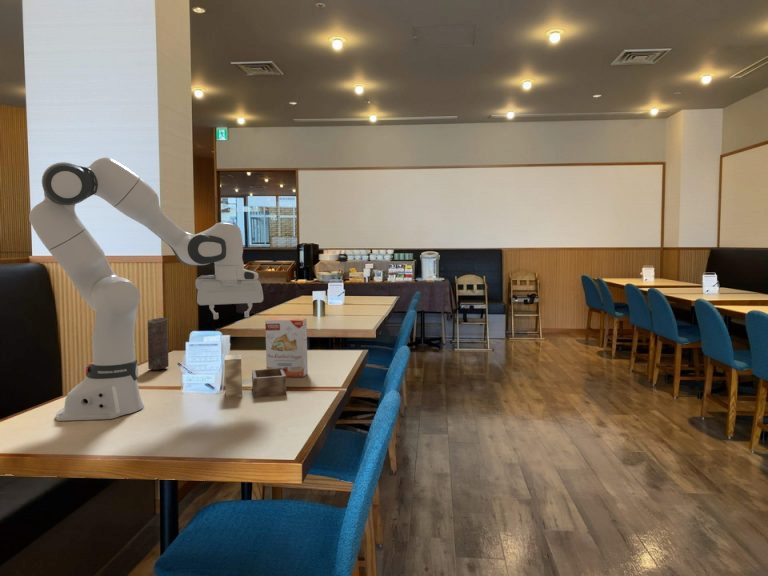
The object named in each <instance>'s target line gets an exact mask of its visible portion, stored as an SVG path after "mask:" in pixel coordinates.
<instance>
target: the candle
mask: <svg viewBox="0 0 768 576" xmlns="http://www.w3.org/2000/svg"><path fill="white" fill-rule="evenodd" d="M168 331H169V330H168V318H166V317H155V318H152V319H148V320H147V350H148V351H147V360H148V362H147V364H148V367H147V368H148V369H149V370H152V371H160V370H164V369H166V368H168V367H169V364H170V363H169V337H168V336H169V335H168Z"/></svg>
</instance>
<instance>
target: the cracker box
mask: <svg viewBox="0 0 768 576" xmlns="http://www.w3.org/2000/svg"><path fill="white" fill-rule="evenodd" d="M307 327H308V326H307V318H295V317H294V318H290V317H289V318H288V317H287V318H286V317H285V318H284V317H283V318H282V317H280V318H278V317H277V318H273V317H271V318H268V319H266V320H265V354H266V355H265V359H266V361H265V363H266V366H265V367H266V369H273V368H282V369H283V371H284V373H285V375H286V378H304V377H305V376H307V375H308V370H309V369H308V336H307V335H308V333H307V332H308V331H307V330H308V329H307Z"/></svg>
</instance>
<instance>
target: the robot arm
mask: <svg viewBox="0 0 768 576" xmlns="http://www.w3.org/2000/svg"><path fill="white" fill-rule="evenodd" d="M41 186H42V189H43V195H44V199H43V200H42V201H40V202H39V203H37V204H36V205H35V206H33V208H32V209H31V210H30V213H29V216H28V220H29V222H30V224H31V226H32V228H33V230H34V231H35V234H36V235H37V237H38V238H39V239H40V241H41V242H42V244H43V246H44V247H45V248H46V249H47V251H48V252H49V253H50V255H52V257H53V258H54V259H55V260H56V262H57V263H58V265H59V266H60V267H61V269H63V270H64V272H65V273H66V275H67V276H68V277H69V280H70V281H71V282H72V284H73V286H74V287H75V289H76V290H77V291H78V293H79V294H80V296H81V297H82V298H83V300H84V301H85V303H86V304H87V305H88V307H89V308H90V309H91V310H93V311H95V312H94V313H95V314H94V315H95V316H94V317H95V318H94V325H93V326H94V327H93V332H92V335H91V344H92V345H91V346H92V362H89V363H88V364H87V365H86V367H85V370H84V371H85V372H84V373H85V376H86V377H85V378H84V379H83V380H82V381H80V382H79V383H78V384H77V385H76V386H74V387H73V388H72V389H71V390H70V391H69V392H68V393H67V394H66V397H65V401H64V407H62V408H61V409H59V410H58V411H57V412H56V414H55V420H56V421H58V422H59V421H60V422H61V421H62V422H65V421H91V420H112V419H116V418H119V417H121V416H125V415H128V414H133V413H135V412H138V411H140V410H142V409H143V408H144V403H143V401H142V397H141V393H140V389H139V384H138V377H139V367H138V366H139V365H138V360H137V359H136V343H135V332H136V331H135V329H136V323H137V316H138V307H139V305H140V302H141V292H140V290H139V288H138V287H137V286H136V284H135V283H134V282H132V281H131V280H129V279H128V278H125V277H121V276H118V275H117V274H116V273H115V272H114V270H113V268H112V266H111V264H110V263H109V261H108V259H107V257H106V255H105V251H104V250H103V248H102V247H101V246H100V245H99V244H98V242H97V240H96V239H95V238H94V237H93V236H92V234H91V233H90V232H89V230H88V229H87V228H86V226H85V225H84V224H83V223H82V221H81V220H80V219H79V216H78V215H77V212H76V210H75V208H76V204H79V203H81V202H83V201H85V200H87V199H88V198H90V197H92V196H97V197H100V198H101V199H103V200H104V201H105V202H107V203H108V204H109V205H111V207H114V208H115V209H116V210H118V211H119V212H120V213H122V214H123V215H125V216H126V217H128V218H130V219H131V220H133V221H136V222H137V223H139V224H141V225H143V226H144V227H145V228H147V229H148V230H149V231H151V232H152V233H153V234H155V236H157V237H158V238H160V239H161V240H162V241H163V242H164V243H165V244H167V246H168V247H170V248H171V250H172V252H173V254H174V256H175V258H176V259H177V260H178V261H179V262H180V263H181V264H182V265H184V266H188V267H193V266H207V265H209V264H212V263H214V274H208V275H205V274H204V275H203V274H202V275H200V276H199V277H197V278H196V279H195V281H194V283H195V288H196V290H197V298H196V299H197V301H196V303H197V304H198V305H199V306H208V307H209V310H210V311H211V313H212V316H213V320H218V319H219V312H216V311H215V310H214V308H215V305H232V304H233V305H236V304H247V307H248V308H247V310H246V311H244V318H250V311H251V310H252V308H253V304H257V303H262V302H263V301H264V292H263V286H262V284H261V282H260V280H258V279H259V273H258V272H256V271H252V270H250V269H245V264H244V260H243V254H244V244H243V243H244V242H243V235H242V231H241V228H240V227H239V226H238V225H237V224H234V223H230V222H223V221H222V222H216V223H215V224H214V225H212V226H211V227H209V228H208V229H206V230H204V231H201V232H198V233H196V234H195V233H190V232H187V231H185V230H183V229H182V228H181V227H180V226H178V225H177V224H176V223H175V222H173V220H171V218H169V217H168V216H167V215H166V214H165V213H164V212H163V211H162V210H161V209H162V208H161V206H160V198H159V195H158V194H157V192H156V191H155V190H154V188H152V186H151V185H149V183H148V182H146V181H145V180H144V179H143V178H141V177H140V176H139V175H138V174H136V173H135V171H134V172H133V170H131V169H130V168H128V167H126V166H125V165H123V164H121V163H120V162H119V161H116V160H114V159H113V158H110V157H101V158H98V159H96V160H95V161H93V162H92V163H91V164H90V165H89V166H87V167H86V166H82V165H76V164H75V163H74V164H73V163H70V162H63V161H62V162H55V163H53V164H51V165H50V166H48V167H47V168H46V169H45V170H44V172H43V174H42V176H41Z"/></svg>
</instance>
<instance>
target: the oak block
mask: <svg viewBox="0 0 768 576" xmlns="http://www.w3.org/2000/svg"><path fill="white" fill-rule="evenodd" d="M242 372H243V371H242V354H240V353H239V354H227V355H224V379H225V380H224V381H225V382H224V383H225V385H224V387H225V398H226V399H228V398H240V397H242V398H243V379H242V376H243V375H242V374H243V373H242Z"/></svg>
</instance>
